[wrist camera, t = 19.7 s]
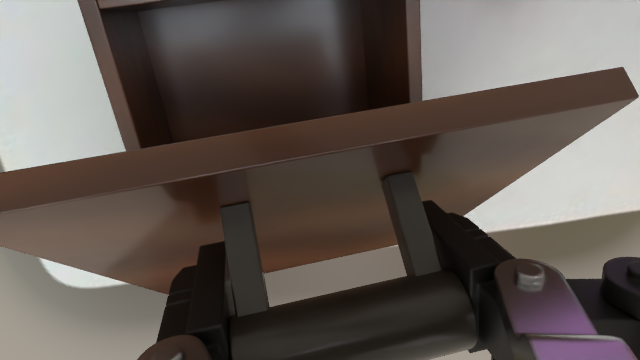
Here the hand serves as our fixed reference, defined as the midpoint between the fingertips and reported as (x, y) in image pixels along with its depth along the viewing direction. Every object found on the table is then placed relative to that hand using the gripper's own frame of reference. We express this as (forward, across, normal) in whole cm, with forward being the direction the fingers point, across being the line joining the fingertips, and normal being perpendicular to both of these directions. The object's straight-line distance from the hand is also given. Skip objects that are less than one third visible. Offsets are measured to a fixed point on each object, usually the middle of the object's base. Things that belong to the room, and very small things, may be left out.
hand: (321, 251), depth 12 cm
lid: (+3, 0, 0) cm, 3 cm away
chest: (+16, 0, -2) cm, 16 cm away
